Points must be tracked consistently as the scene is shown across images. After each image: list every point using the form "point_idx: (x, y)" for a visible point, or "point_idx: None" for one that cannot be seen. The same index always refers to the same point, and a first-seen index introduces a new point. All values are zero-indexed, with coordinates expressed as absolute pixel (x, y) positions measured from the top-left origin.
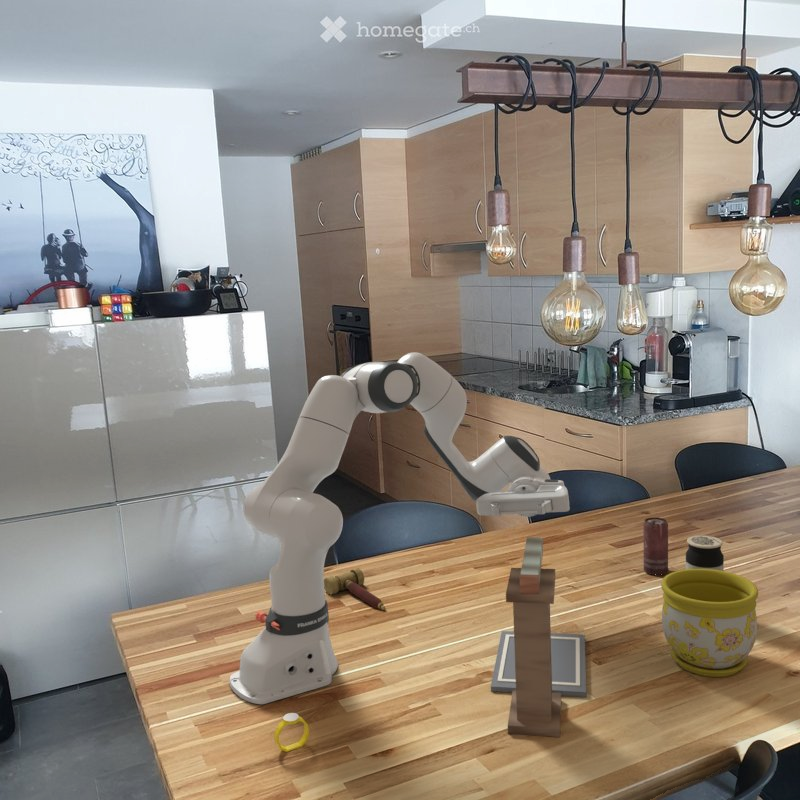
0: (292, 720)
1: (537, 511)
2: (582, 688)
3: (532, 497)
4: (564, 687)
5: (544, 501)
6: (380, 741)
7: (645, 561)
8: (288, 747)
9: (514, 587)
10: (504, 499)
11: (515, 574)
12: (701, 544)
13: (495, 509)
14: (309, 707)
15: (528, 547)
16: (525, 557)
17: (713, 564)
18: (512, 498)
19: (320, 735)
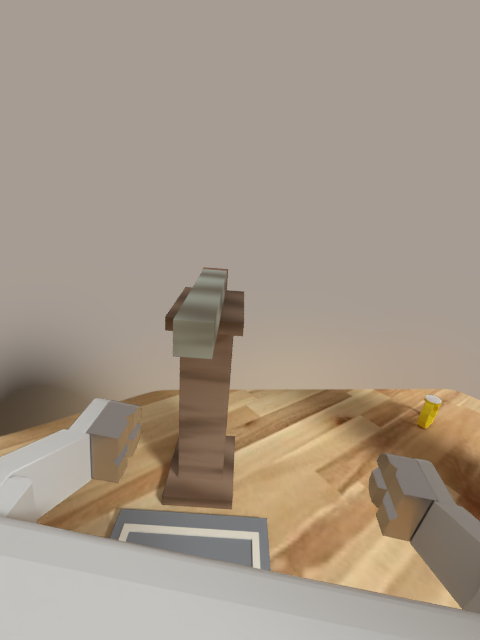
0: (427, 395)
1: (138, 423)
2: (123, 518)
3: (117, 549)
4: (151, 520)
5: (30, 479)
6: (355, 432)
7: None
8: (427, 421)
9: (234, 296)
10: (456, 612)
11: (234, 311)
12: None
13: (405, 457)
14: (477, 479)
15: (212, 299)
16: (219, 286)
17: None
18: (362, 598)
19: (417, 438)
